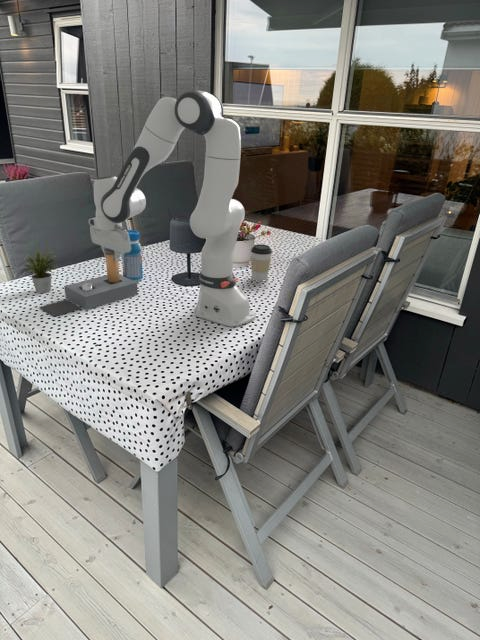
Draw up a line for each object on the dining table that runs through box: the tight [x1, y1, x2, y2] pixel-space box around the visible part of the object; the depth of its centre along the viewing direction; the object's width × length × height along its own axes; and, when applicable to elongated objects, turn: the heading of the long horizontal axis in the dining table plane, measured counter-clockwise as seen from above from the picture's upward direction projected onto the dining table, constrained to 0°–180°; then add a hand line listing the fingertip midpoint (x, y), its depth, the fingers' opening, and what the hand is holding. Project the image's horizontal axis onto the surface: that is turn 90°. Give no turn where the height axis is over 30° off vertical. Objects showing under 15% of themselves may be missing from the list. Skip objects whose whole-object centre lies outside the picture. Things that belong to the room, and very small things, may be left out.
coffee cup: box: [250, 244, 273, 282], centre depth 193 cm, size 9×9×15 cm
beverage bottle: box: [120, 229, 144, 283], centre depth 184 cm, size 8×8×20 cm
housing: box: [64, 274, 139, 311], centre depth 168 cm, size 22×14×5 cm, turn 139°
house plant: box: [22, 248, 61, 294], centre depth 167 cm, size 14×14×16 cm
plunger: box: [82, 283, 92, 291], centre depth 164 cm, size 4×4×6 cm
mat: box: [39, 299, 82, 318], centre depth 157 cm, size 10×10×1 cm
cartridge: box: [105, 248, 120, 282], centre depth 168 cm, size 5×5×12 cm
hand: (112, 259), depth 167 cm, fingers closed on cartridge, 4 cm apart
